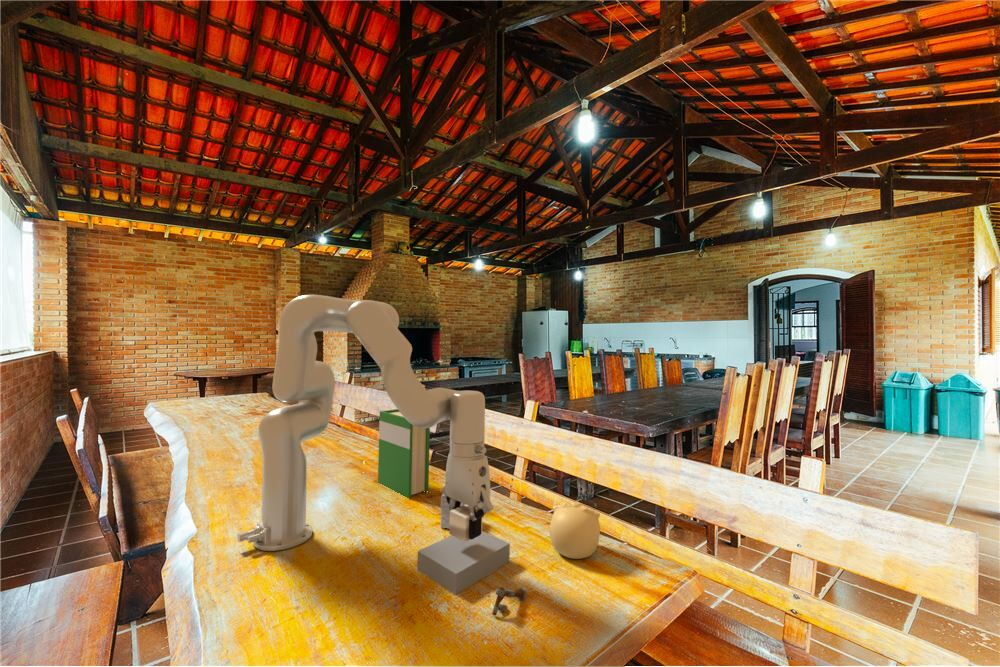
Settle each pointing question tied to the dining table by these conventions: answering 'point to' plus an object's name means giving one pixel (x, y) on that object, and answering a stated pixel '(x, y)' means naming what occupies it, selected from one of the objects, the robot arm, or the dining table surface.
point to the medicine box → (445, 512)
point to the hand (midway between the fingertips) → (465, 531)
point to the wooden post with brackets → (509, 593)
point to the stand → (462, 560)
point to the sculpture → (574, 530)
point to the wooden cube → (461, 522)
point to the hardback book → (402, 454)
